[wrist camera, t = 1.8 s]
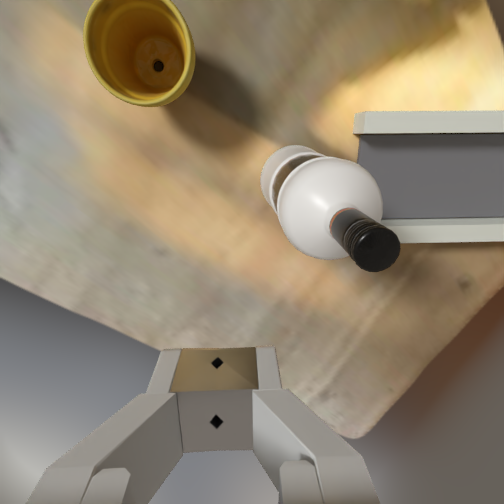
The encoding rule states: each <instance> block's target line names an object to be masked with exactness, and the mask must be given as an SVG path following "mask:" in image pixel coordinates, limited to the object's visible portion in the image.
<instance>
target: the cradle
mask: <svg viewBox="0 0 504 504" xmlns="http://www.w3.org/2000/svg"><path fill="white" fill-rule="evenodd" d="M485 132H504V111H369V112H360V113H355V115H354V126H353V134H365V133H485ZM357 164H359V165H360V166H362V167H363V168H365V169H366V170H367V171H368V172H369V173H370V174H371V175H372V177H373V178H374V179H375V181H376V183H377V185H378V187H379V189H380V191H381V196H382V201H383V214H382V218H381V222H380V224H381V225H384V226H385V227H387V228H388V229H390V230H392V231H393V232H394V233H395V234H396V235H397V237H398V239H399V241H400V243H440V242H491V241H504V134H431V135H360V139H359V149H358V159H357ZM455 217H472V218H455ZM396 218H413V219H396Z"/></svg>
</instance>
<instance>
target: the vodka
mask: <svg viewBox="0 0 504 504" xmlns="http://www.w3.org/2000/svg"><path fill="white" fill-rule="evenodd" d="M260 184H261V190H262V193H263V195H264V197H265V199H266V200H267V202H268V203H269V204H270V205H271V206H272V207H273V209H274V211H275V212H276V214H277V215H278V218H279V222H280V224H281V226H282V228H283V231H284V234H285V235H286V237H287V238H288V240H289V242H290V243H291V244H292V245H293V246H294V247H295V248H296V249H297V250H299V251H301V252H302V253H304V254H305V255H308V256H311V257H314V258H317V259H324V260H334V259H341V258H344V257H347V256H350V257H351V258H352V259H353V260H354V261H355V262H356V264H357V265H358V266H359V267H360V268H361V269H363V270H366V271H369V272H378V271H382V270H385V269H386V268H388V267H390V266H391V265H392V264H393V263H394V262H395V261H396V259H397V258H398V256H399V253H400V241H399V239H398V237H397V235H396V234H395V233H394V232H393V231H392V230H390V229H388V228H387V227H385V226H384V225H381V224H380V222H381V218H382V214H383V201H382V196H381V191H380V189H379V187H378V185H377V183H376V181H375V179H374V178H373V177H372V175H371V174H370V173H369V172H368V171H367V170H366V169H365V168H363V167H362V166H360V165H359V164H357V163H354V162H352V161H349V160H345V159H340V158H336V157H326V156H325V155H322V154H320V153H317V152H315V151H314V150H312V149H310V148H308V147H305V146H301V145H290V146H286V147H283V148H280V149H279V150H277V151H275V152H274V153H273V154H272V155H271V156H270V157H269V158H268V159H267V161H266V162H265V164H264V166H263V168H262V172H261V177H260Z"/></svg>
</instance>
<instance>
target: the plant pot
mask: <svg viewBox="0 0 504 504" xmlns="http://www.w3.org/2000/svg"><path fill="white" fill-rule="evenodd" d="M83 41H84V49H85V53H86V57H87V60H88V63H89V65H90V67H91V69H92V71H93V73H94V75H95V76H96V78H97V79H98V81H99V82H100V83H101V84H102V85H103V87H104V88H105V89H106V90H108V91H109V92H110V93H111V94H113V95H114V96H115V97H117V98H119V99H121V100H123V101H125V102H127V103H130V104H133V105H138V106H143V107H158V106H163V105H166V104H169V103H171V102H172V101H174V100H176V99H177V98H178V97H179V96H180V95H181V94H182V93H183V92H184V91H185V90H186V88H187V87H188V85H189V83H190V81H191V79H192V76H193V73H194V68H195V48H194V42H193V39H192V35H191V33H190V30H189V28H188V25H187V23H186V21H185V19H184V18H183V16H182V14H181V13H180V11H179V10H178V8H177V7H176V6H175V5H174V3H173V2H172V1H171V0H95V1H94V2H93V4H92V5H91V7H90V9H89V11H88V13H87V16H86V19H85V23H84V30H83ZM156 61H161V62H162V63H163V64H164V68H163V70H162V71H160V72H157V71H156V70H155V69H154V63H155V62H156Z"/></svg>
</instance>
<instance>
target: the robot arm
mask: <svg viewBox="0 0 504 504" xmlns="http://www.w3.org/2000/svg"><path fill="white" fill-rule="evenodd" d="M217 450H253V452H254V454H255V456H256V457H257V459H258V460H259V462H260V463H261V465H262V467H263V468H264V469H265V471H266V473H267V474H268V476H269V478H270V479H271V481H272V482H273V484H274V485H275V487H276V489H277V490H278V492H279V502H278V504H380V502H379V499H378V496H377V494H376V491H375V488H374V486H373V483H372V481H371V478H370V476H369V473H368V470H367V468H366V465H365V462H364V460H363V457H362V456H361V455H360V454H359V453H358V452H357V451H356V450H354V448H352V447H351V446H350V445H349V444H348V443H347V442H346V441H345V440H344V439H342V438H341V437H340V436H339V435H338V434H337V433H336V432H335V431H334V430H333V429H332V428H331V427H329V426H328V425H327V424H326V423H325V422H324V421H323V420H322V419H321V418H320V417H318V416H317V415H316V414H315V413H314V412H313V411H312V410H311V409H310V408H309V407H308V406H306V405H305V404H304V403H303V402H302V401H301V400H300V399H299V398H298V397H297V396H295V395H294V394H293V393H292V392H291V391H290V390H289V389H282V384H281V378H280V372H279V366H278V361H277V355H276V349H275V347H274V345H272V346H256V348H255V347H245V348H183V349H164V350H163V351H162V352H161V353H160V356H159V359H158V362H157V364H156V367H155V370H154V372H153V375H152V378H151V381H150V384H149V386H148V389H147V392H146V394H139V395H138V396H137V397H135V398H134V399H133V400H132V401H130V402H129V403H128V404H127V405H126V406H124V407H123V408H122V409H120V410H119V411H118V412H117V413H116V414H114V415H113V416H112V417H110V418H109V419H108V420H107V421H106V422H104V423H103V424H102V425H100V426H99V427H98V428H97V429H95V430H94V431H93V432H92V433H90V434H89V435H88V436H87V437H85V438H84V439H83V440H82V441H80V442H79V443H78V444H77V445H75V446H74V447H73V448H72V449H70V450H69V451H68V452H66V453H65V454H64V455H63V456H62V457H60V458H59V459H58V460H56V461H55V462H54V463H53V464H51V465H50V466H49V467H48V468H46V470H45V471H44V473H43V475H42V477H41V478H40V480H39V482H38V484H37V485H36V487H35V489H34V490H33V492H32V494H31V496H30V497H29V499H28V501H27V502H26V504H148V503H149V501H150V500H151V499H152V497H153V496H154V495H155V493H156V492H157V490H158V489H159V488H160V486H161V485H162V484H163V482H164V481H165V479H166V478H167V477H168V475H169V474H170V472H171V471H172V470H173V468H174V467H175V466H176V464H177V463H178V461H179V460H180V459H181V457H182V456H183V453H189V452H203V451H217Z"/></svg>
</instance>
